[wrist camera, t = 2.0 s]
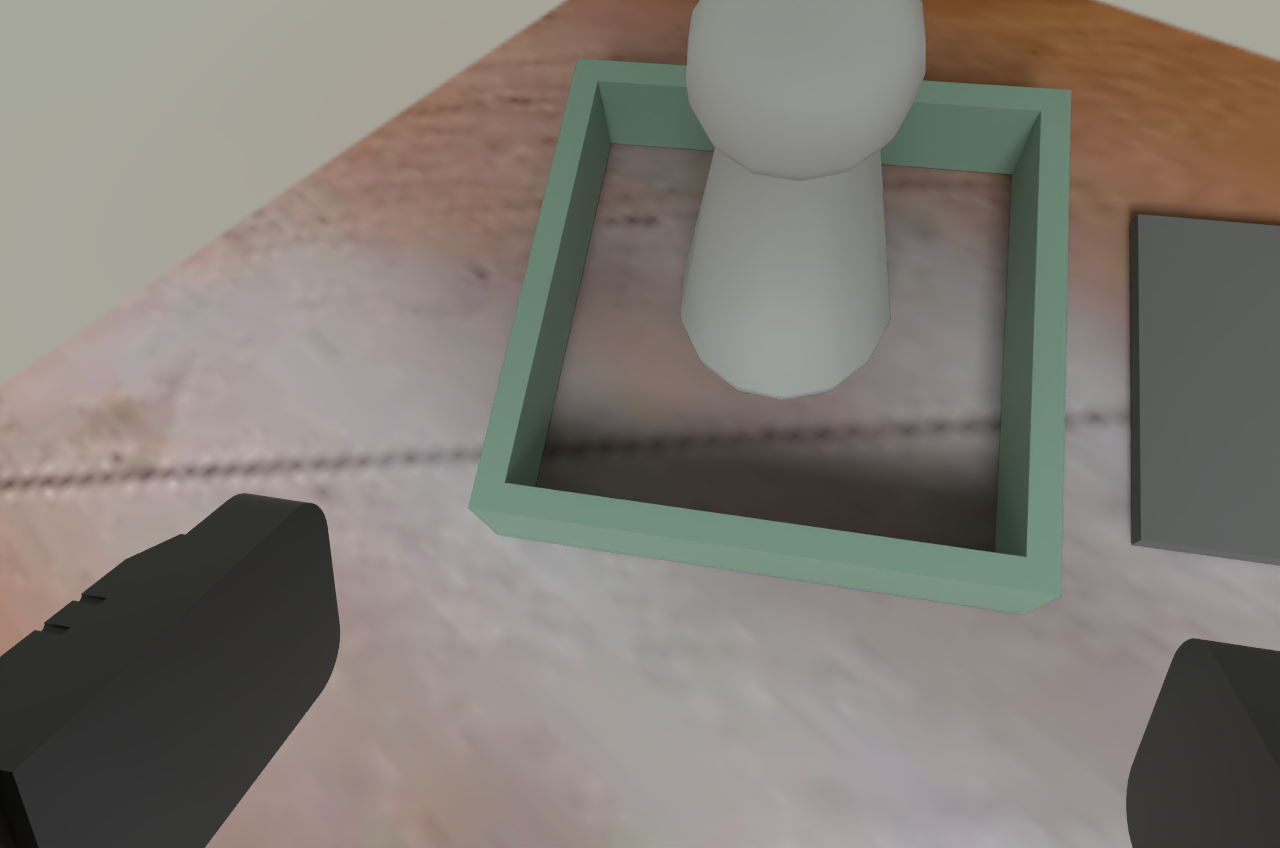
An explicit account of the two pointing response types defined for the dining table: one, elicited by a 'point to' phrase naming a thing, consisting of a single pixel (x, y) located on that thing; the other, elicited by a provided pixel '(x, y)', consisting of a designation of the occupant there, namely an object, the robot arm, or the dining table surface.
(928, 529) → the dining table surface
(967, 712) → the dining table surface
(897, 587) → the square frame
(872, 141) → the salt shaker
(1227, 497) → the rubber mat
